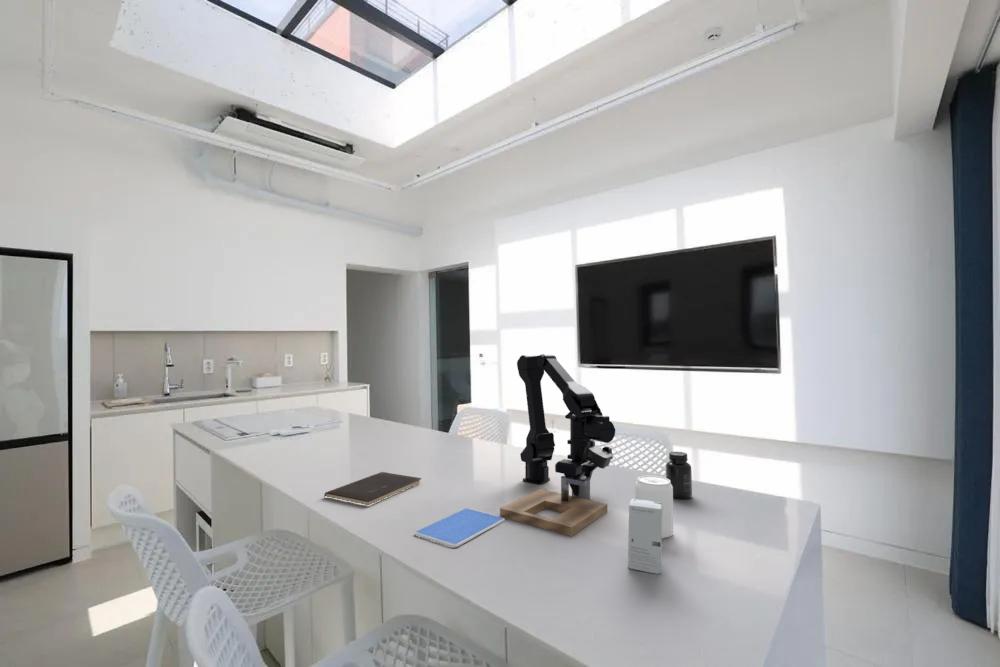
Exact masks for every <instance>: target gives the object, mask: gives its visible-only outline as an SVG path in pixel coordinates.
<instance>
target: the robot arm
mask: <svg viewBox="0 0 1000 667" xmlns="http://www.w3.org/2000/svg"><path fill="white" fill-rule="evenodd" d="M516 367H517V370H518V376H519V377H520V379H521V380H522V381H523V383H524V386H525V395H526V402H527V403H526V405H527V411H528V413H527V414H528V420H529V421H528V423H529V430H528V434H527V435H526V438H525V439H526V440H525V442H526V444H525V447H524V448H523V449H522V451H521V453H520V460H521V462H524V463H525V477H524V478H522V481H523V482H528V483H532V484H537V485H541V484H543V483H545V482H548V481H550V480H551V478H550V476H549V475H550V474H549V473H550V471H549V469H550V468H549V466H548V461H552V459H553V456H554V455H553V454H554V452H555V446H556V444H555V435H554V433H553V432H550V431H549V430H548V428H547V424H546V417H545V409H544V402H543V401H544V399H543V392H542V385H541V384H542V383H541V382H542V379H543V376H544V374H545V373H546V374H547V375H548V377H549V378H550V379H551V381H552V382H553V383H554V384H555V385H556V387H557V388H558V389H559V391H560V392H561V393H562V401H563V403H564V405H565V406H566V408H567V410H568V411H569V412H568V413H566V415H564V418H565V419H568V420H569V421H570V422H569V423H570V424H569V426H570V427H569V428H570V429H569V430H570V431H569V433H570V434H569V436H570V437H569V439H567V440H566V441H567V445H570V446H569V448H570V450H569V451H570V452H569V454H567V455H566V456H567V459H565V458H563V459H560V460H558V461H557V462H556V463H555V465H554V471H555V473H559V474H563V476H568V477H572V478H577V479H581V476H582V475H585V476H586V477H589V478H590V480H591V479H592V475H593V472H594V471H595V470H596V469H598V468H599V469H605V468H606V467H609V466H610V463H611V460H613V459H614V457H613V455H614V454H613V450H612V447H611V446H608V445H606V446H604V447H598V446H596V442H595V441H597V442H601V443H604V444H605V443H606V444H609V443H611V442H612V441H613V440H614V437H615V436H616V428H615V426H614V423H613V422H612V421H610V416H609V415H603V413H602V410H601V409H600V406H599V405H598V403H597V401H596V397H595V396H594V393H593V392H591V391H590V390H589V389H588V388H587V387H585V386H583V385H582V384H579V383H577V381H575V380H574V379H573V377H572V376H571V375H570V374H569V373H568V372H567V370H566V369H565V368H564V367H563V366H562V364H561V363H560V362H559V361H558V360H557V356H556V355H554V354H552V353H551V354H550V353H547V354H545V353H543V354H540V355H539V354H534V355H533V354H532V355H531V354H530V355H529V354H526V355H525V354H524V355H520V356H519V358H518V360H517V361H516ZM569 488H570V489H571V492H572V491H573V493H574V495H575V496H578V495H579V488H580V485H575V484H570V483H569Z"/></svg>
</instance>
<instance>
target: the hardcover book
mask: <svg viewBox="0 0 1000 667" xmlns="http://www.w3.org/2000/svg"><path fill="white" fill-rule="evenodd" d="M421 480H422V477H415V476H411V475H410V476H409V475H402V474H398V473H391V472H390V473H389V472H386V471H380V472H378V473H375V474H372V475H369V476H367V477H364V478H361V479H358V480H355V481H353V482H350V483H348V484H345V485H343V486H340V487H336V488H334V489H331V490H329V491H326V492H325V493H324V497H323V498H325V496H327V497H332V498H337V499H342V500H346V501H351V502H355V503H361V504H365V505H370V504H372V503H375V502H377V501H379V500H382V499H384V498H386V497H389V496H391V495H393V494H395V493H398V492H400V491H402V490H405V489H407V488H409V487H412V486H414V485H416V486H418V485H420V484H419V483H421V482H420V481H421ZM417 484H418V485H417ZM414 487H415V486H414ZM412 488H413V487H412ZM409 489H410V488H409ZM407 490H408V489H407ZM405 491H406V490H405ZM400 493H401V492H400ZM398 494H399V493H398ZM391 497H392V496H391ZM389 498H390V497H389ZM382 501H383V500H382Z"/></svg>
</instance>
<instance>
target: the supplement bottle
mask: <svg viewBox="0 0 1000 667" xmlns="http://www.w3.org/2000/svg"><path fill="white" fill-rule="evenodd" d="M668 456H669V457H668V460H669V461H667V463H666V464H665V478H667V479H669V480H670V483H671V485H672V487H673V499H676V500H689V499H691V498H692V497H693V477H692V476H693V474H692V473H693V472H692V464H690V463H689V462H687V461H689V459H688V453H686V452H683V451H670V452H669V455H668Z"/></svg>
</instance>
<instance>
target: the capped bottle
mask: <svg viewBox="0 0 1000 667" xmlns="http://www.w3.org/2000/svg"><path fill="white" fill-rule="evenodd" d="M581 479H582V480H587V485H586V486H580V488H579V495H578V496H575V495H574V493H573V491H572V490H571V496H574V497H579V498H583V499H588V500H591V479H590V478H589V477H586V476H585V475H582V476H581Z"/></svg>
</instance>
